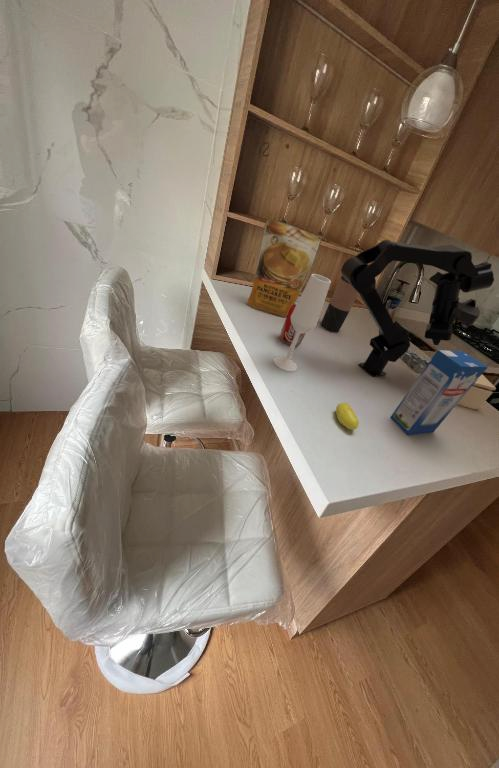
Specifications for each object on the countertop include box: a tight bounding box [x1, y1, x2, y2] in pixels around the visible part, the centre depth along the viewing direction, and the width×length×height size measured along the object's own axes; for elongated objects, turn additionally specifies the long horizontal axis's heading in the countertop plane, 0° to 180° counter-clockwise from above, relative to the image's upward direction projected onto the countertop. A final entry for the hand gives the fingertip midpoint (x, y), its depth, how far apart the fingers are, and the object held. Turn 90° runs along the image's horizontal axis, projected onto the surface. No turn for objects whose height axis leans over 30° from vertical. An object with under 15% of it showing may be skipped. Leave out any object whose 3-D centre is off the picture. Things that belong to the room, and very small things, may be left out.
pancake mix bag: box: [245, 219, 322, 318], centre depth 110 cm, size 7×19×28 cm, turn 87°
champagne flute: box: [273, 273, 332, 372], centre depth 82 cm, size 7×7×24 cm
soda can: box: [279, 300, 306, 346], centre depth 98 cm, size 7×7×12 cm
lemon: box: [335, 402, 360, 431], centre depth 74 cm, size 4×8×4 cm, turn 7°
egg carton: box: [400, 349, 430, 374], centre depth 115 cm, size 11×8×4 cm
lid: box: [473, 374, 497, 391], centre depth 100 cm, size 10×12×1 cm
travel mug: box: [320, 275, 359, 333], centre depth 115 cm, size 8×8×20 cm
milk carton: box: [390, 349, 489, 436], centre depth 77 cm, size 10×6×20 cm, turn 114°
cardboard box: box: [456, 385, 494, 411], centre depth 103 cm, size 10×12×7 cm
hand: (436, 344), depth 98 cm, fingers closed
